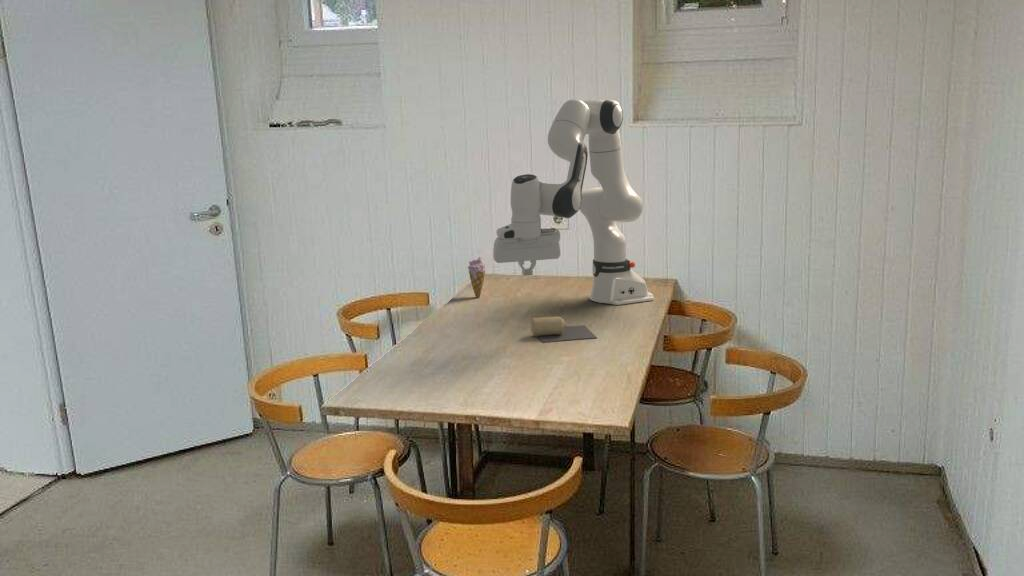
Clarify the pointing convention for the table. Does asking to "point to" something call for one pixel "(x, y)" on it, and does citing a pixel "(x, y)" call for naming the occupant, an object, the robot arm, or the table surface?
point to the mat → (569, 334)
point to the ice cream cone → (477, 275)
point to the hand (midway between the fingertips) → (527, 274)
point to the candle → (548, 326)
